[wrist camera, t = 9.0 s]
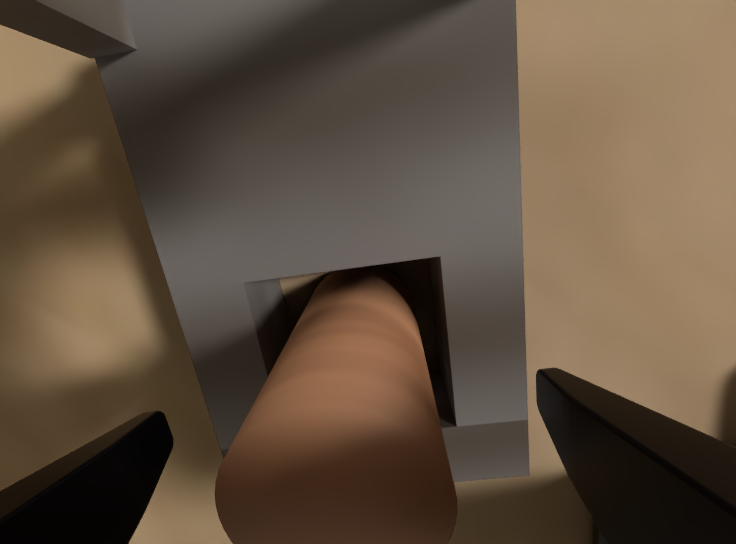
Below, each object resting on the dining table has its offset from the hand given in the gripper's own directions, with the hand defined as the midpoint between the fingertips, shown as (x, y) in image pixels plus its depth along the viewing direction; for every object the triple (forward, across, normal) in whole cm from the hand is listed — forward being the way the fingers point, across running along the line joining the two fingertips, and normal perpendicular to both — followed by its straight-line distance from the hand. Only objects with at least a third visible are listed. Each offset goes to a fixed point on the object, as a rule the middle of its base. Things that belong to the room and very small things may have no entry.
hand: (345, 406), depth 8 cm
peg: (+5, 0, 0) cm, 5 cm away
